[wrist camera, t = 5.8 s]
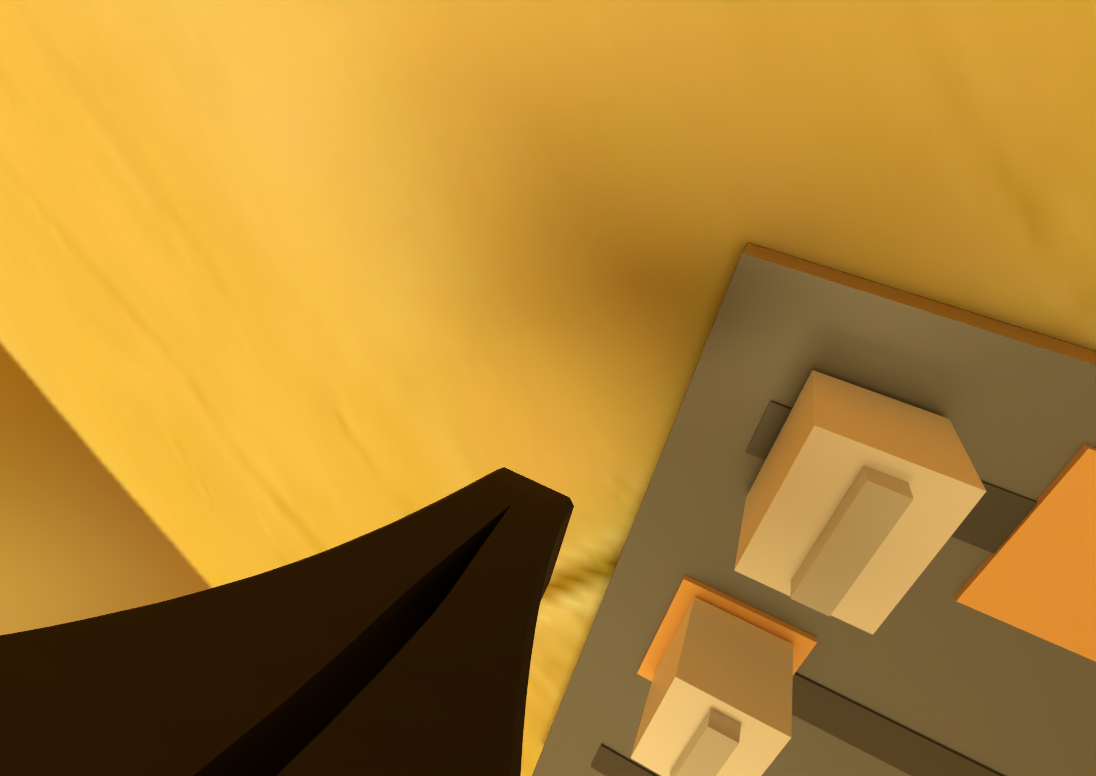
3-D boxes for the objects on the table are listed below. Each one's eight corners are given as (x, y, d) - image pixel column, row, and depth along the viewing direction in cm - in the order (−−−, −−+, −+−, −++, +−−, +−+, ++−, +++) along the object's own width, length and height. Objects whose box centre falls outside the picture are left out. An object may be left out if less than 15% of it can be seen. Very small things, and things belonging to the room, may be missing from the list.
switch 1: (793, 644, 16) (791, 758, 13) (740, 720, 18) (727, 836, 15) (694, 596, 17) (671, 694, 14) (653, 675, 19) (625, 776, 16)
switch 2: (948, 419, 12) (995, 508, 9) (860, 546, 14) (875, 654, 11) (812, 369, 13) (814, 438, 10) (745, 497, 15) (731, 587, 12)
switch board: (1459, 464, 11) (1559, 514, 9) (855, 931, 22) (859, 985, 21) (747, 242, 14) (741, 253, 13) (544, 746, 26) (529, 782, 24)
